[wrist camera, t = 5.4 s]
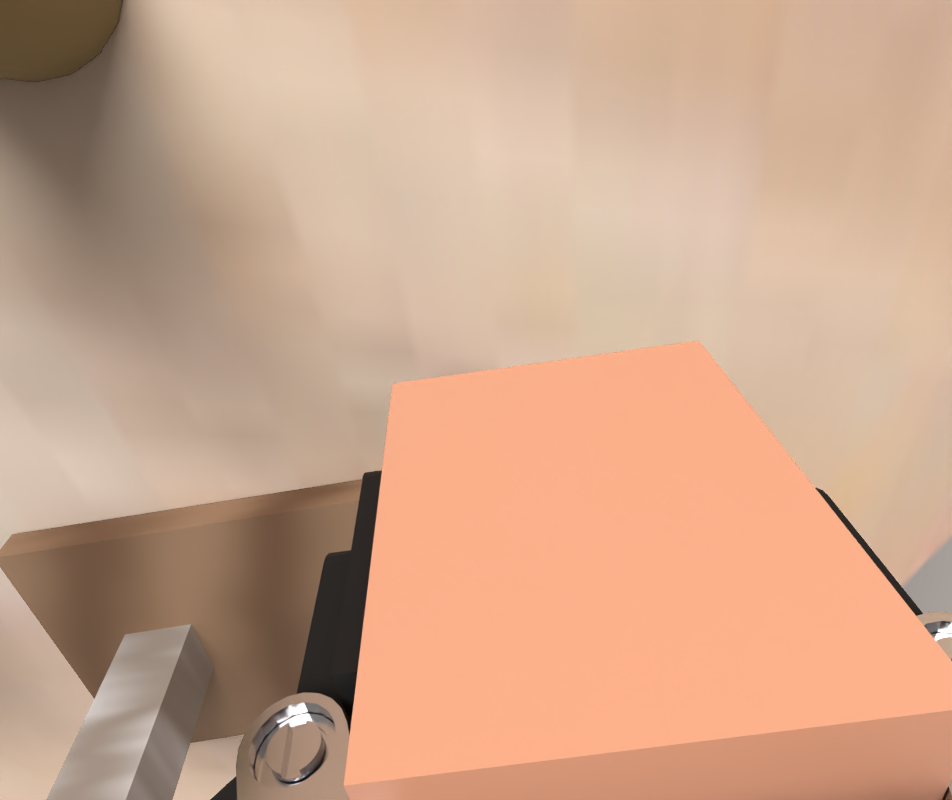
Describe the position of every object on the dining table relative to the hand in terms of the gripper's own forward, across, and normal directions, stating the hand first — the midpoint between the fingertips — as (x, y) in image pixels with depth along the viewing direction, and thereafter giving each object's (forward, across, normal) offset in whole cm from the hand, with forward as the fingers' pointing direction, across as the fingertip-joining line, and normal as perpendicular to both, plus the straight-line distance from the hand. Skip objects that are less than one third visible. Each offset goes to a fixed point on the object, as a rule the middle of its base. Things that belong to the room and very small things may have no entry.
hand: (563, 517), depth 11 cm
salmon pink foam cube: (+1, 0, 0) cm, 1 cm away
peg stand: (+10, +10, +12) cm, 19 cm away
